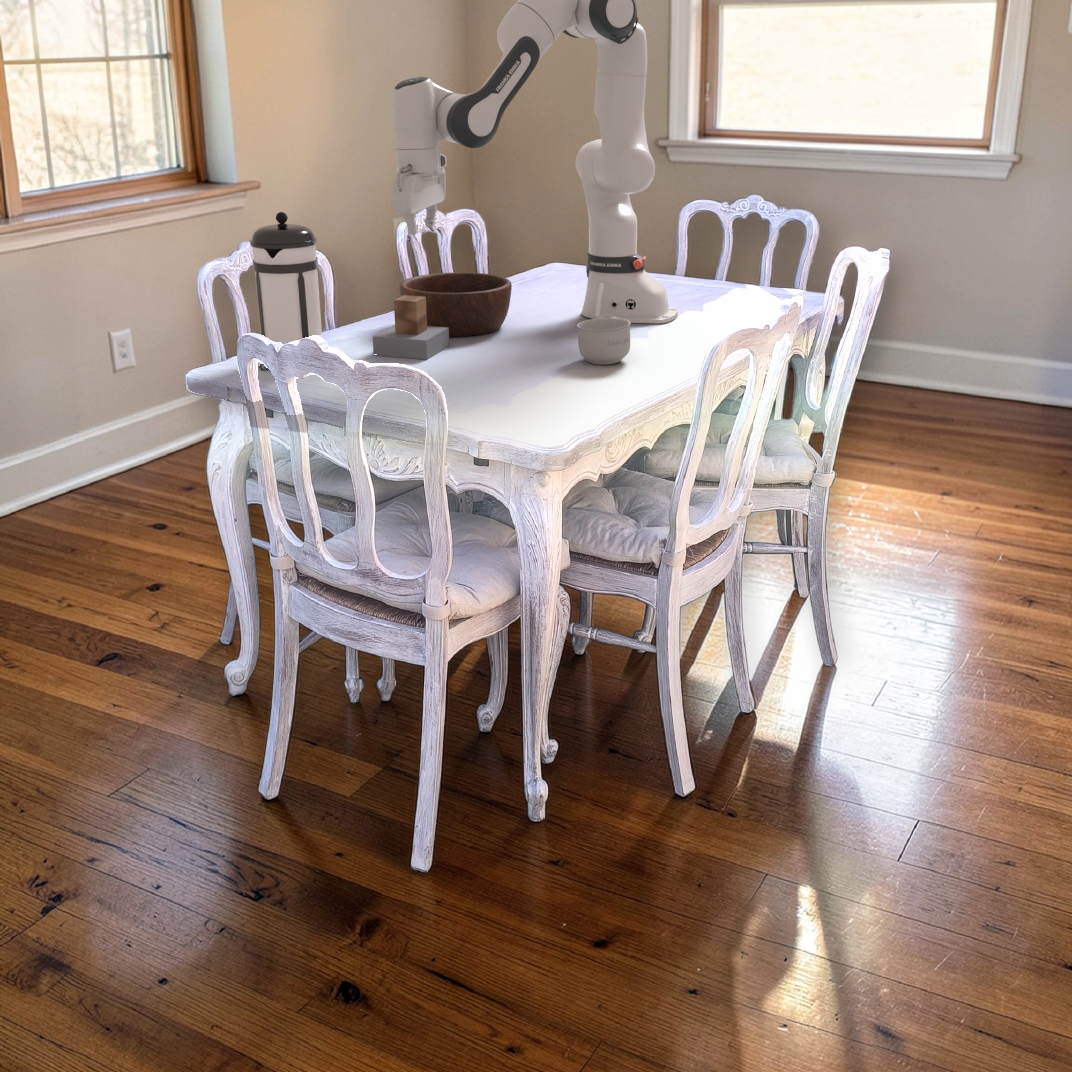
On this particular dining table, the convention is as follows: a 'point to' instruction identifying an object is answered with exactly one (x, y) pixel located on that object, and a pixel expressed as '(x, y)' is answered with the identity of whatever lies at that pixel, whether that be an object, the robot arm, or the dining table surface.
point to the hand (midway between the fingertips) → (422, 230)
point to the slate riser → (411, 343)
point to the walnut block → (410, 315)
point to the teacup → (604, 340)
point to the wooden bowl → (462, 300)
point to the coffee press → (286, 281)
